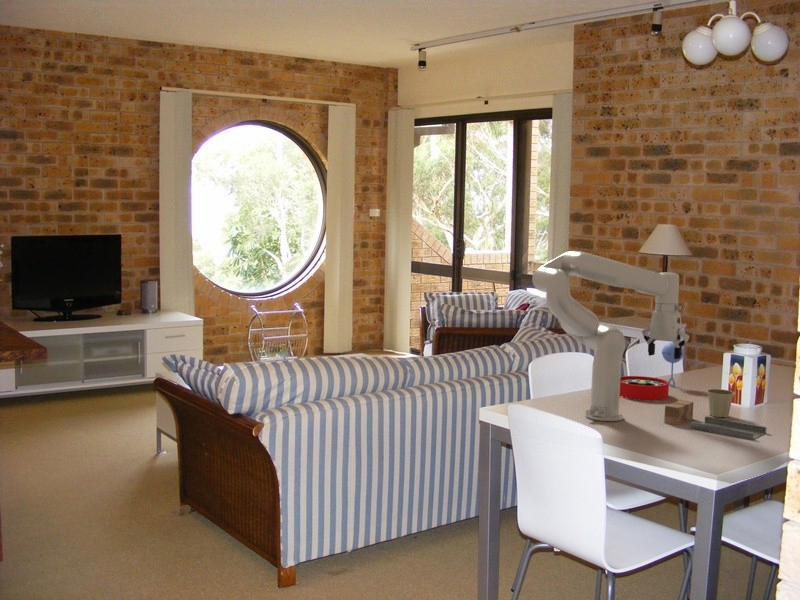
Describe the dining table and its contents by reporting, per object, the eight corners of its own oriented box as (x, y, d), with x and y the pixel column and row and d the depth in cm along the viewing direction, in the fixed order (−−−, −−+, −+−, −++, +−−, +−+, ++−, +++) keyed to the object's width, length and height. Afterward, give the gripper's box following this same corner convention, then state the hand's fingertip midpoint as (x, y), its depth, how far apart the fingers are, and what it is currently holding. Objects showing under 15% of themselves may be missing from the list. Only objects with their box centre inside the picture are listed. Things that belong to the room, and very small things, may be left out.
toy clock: (658, 388, 326) (607, 381, 337) (657, 403, 327) (606, 396, 338) (676, 380, 342) (626, 373, 354) (675, 395, 343) (625, 388, 354)
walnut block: (677, 425, 293) (678, 408, 293) (664, 423, 296) (665, 405, 295) (692, 419, 303) (693, 402, 302) (679, 416, 306) (680, 400, 305)
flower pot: (732, 414, 312) (733, 390, 311) (734, 420, 303) (736, 395, 302) (704, 411, 314) (705, 388, 313) (705, 417, 305) (707, 393, 304)
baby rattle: (655, 384, 363) (658, 341, 361) (673, 383, 365) (676, 340, 363) (667, 388, 354) (670, 344, 353) (686, 387, 357) (688, 343, 355)
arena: (752, 439, 276) (752, 433, 276) (691, 428, 289) (691, 422, 289) (766, 433, 285) (766, 427, 285) (706, 422, 299) (706, 416, 298)
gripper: (695, 309, 300) (692, 359, 302) (649, 305, 312) (647, 352, 314) (684, 311, 295) (682, 361, 297) (638, 306, 307) (636, 354, 309)
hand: (664, 356), depth 305 cm, fingers open, 9 cm apart
